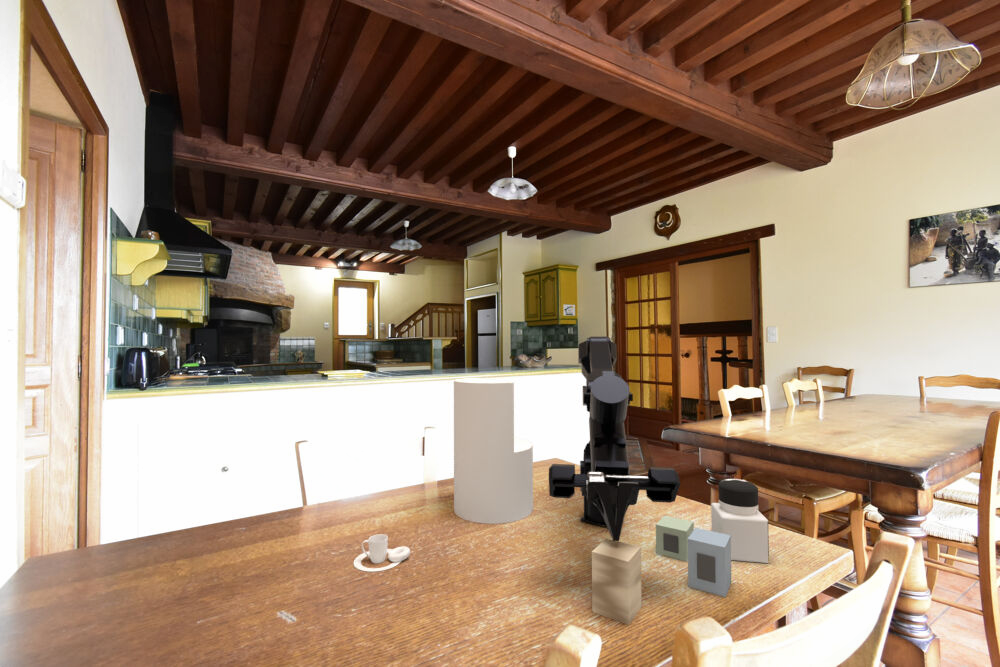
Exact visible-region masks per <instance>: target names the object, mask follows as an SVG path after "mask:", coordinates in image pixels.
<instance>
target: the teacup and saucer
mask: <svg viewBox="0 0 1000 667" xmlns="http://www.w3.org/2000/svg"><path fill="white" fill-rule="evenodd" d="M388 542H389V537H388V535H387V534H383V533H379V534H378V533H377V534H374V535H371V536H370V537H369V538H368V539H365V540H363V541H362V543H361V550H362V553H360V554H359V555H358V556H356V557H355V559H354V560H353V567H354V568H355V569H357V570H359V571H362V572H368V573H369V572H371V573H375V572H382V571H386V570H390V569H392V568H395V567H396V566H398V565H399V564H400V563H401V562H402V561H404V560H406V559H407V558H409V556H410V554H411V549H410V548H409V547H408V546H403V545H402V546H397V547H395V548H388ZM364 543H367V544H368V551H366V550H365V548H364ZM366 557H367V558H368V559H369V560H370V562H371V563H372V564H376V565H377V564H382V563H384V562H385V560H386V558H387V559H388V560H389V561H390V562H392V563H390V564H388V565H386V566H384V567H383V566H382V567H378V568H377V567H374V568H372V567H367V566H364V565H363V564H362V561H363V559H364V558H366Z"/></svg>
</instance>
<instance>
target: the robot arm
mask: <svg viewBox="0 0 1000 667" xmlns="http://www.w3.org/2000/svg"><path fill="white" fill-rule="evenodd" d="M611 340H612V339H611V337H608V336H589V337H586V340H584V341H582V342H580V343H578V346H577V347H578V352H577V354H578V355H577V356H578V359H577V361H578V364H579V365H581V369H580V370H581V374H582V376H583V377H584V378H585V380H586V381H585V383H586V385H582V406H584V407H586V412H588V413H589V418H588V425H589V426H588V427H589V441H588V442H587V443H586V445H585V447H584V449H583V456H582V457H583V460H580V461H579V473H576V465H575V464H568V463H567V464H566V463H552V464H551V465H550V466H549V467H548V489H549V491H548V493H549V497H552V498H553V499H554V498H557V499H571V498H572V497H573V496H574V495H575V494H576V489H575V488H579V489H580V493H581V496H582V497H583V516H581V517H580V519H579V520H580V521H581V522H585V523H587V524H588V523H589V524H592V525H596V526H600V527H603V528H604V527H605V528H607V530H608V532H609V534H610V537H611V540H613V541H618V542H620V539H621V534H622V529H623V525H624V520H625V516H626V513H627V511H628V509H629V507H630V506H635V505H637V502H638V499H639V498H638V497H639V492H640V491H645V492H646V498H647V499H649V500H650V501H651V502H652V503H668V504H669V503H673V502H676V499H677V495H678V492H679V490H680V486H681V480H680V476H679V473H678V472H677V471H676V469H675V468H673V467H658V466H655V467H654V466H651V467H650V466H649V467H648V472H647V475H646V476H644V475H643V476H642V475H631V471H630V462H629V455H628V446H627V444H628V443H627V437H626V430H625V429H626V428H625V420H626V419H627V418H626V417H627V414H628V413H627V412H628V406H629V405H630V403H631V402H633V401H634V394H633V393H632V392H630V386H629V385H628V383H627V382H626V381H625V380H624V379H623V378H622V375H620V374H619V373H617V372H615V370H614V364H616V363H617V359H618V358H617V343H615V342H613V341H611Z"/></svg>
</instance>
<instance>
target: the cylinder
mask: <svg viewBox="0 0 1000 667" xmlns="http://www.w3.org/2000/svg"><path fill="white" fill-rule="evenodd" d="M514 392H515V382H510V381H505V380H496V379H489V378H488V379H487V378H482V377H465V378H456V379H454V380H453V512H454V514H455V515H456V516H457V517H459V518H461V519H462V520H465V521H469V522H473V523H478V524H486V525H487V524H489V525H495V524H496V525H498V524H507V523H512V522H513V523H514V522H518V521H521V520H523V519H525V518H527V517H529V516H530V515H531V514H532V513H533V511H534V510H533V509H534V474H533V473H534V464H533V463H534V459H533V458H534V454H533V453H534V452H533V450H534V449H533V448H534V447H533V442H531V441H529V440H526V439H522V438H518V437H515V394H514Z"/></svg>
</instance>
